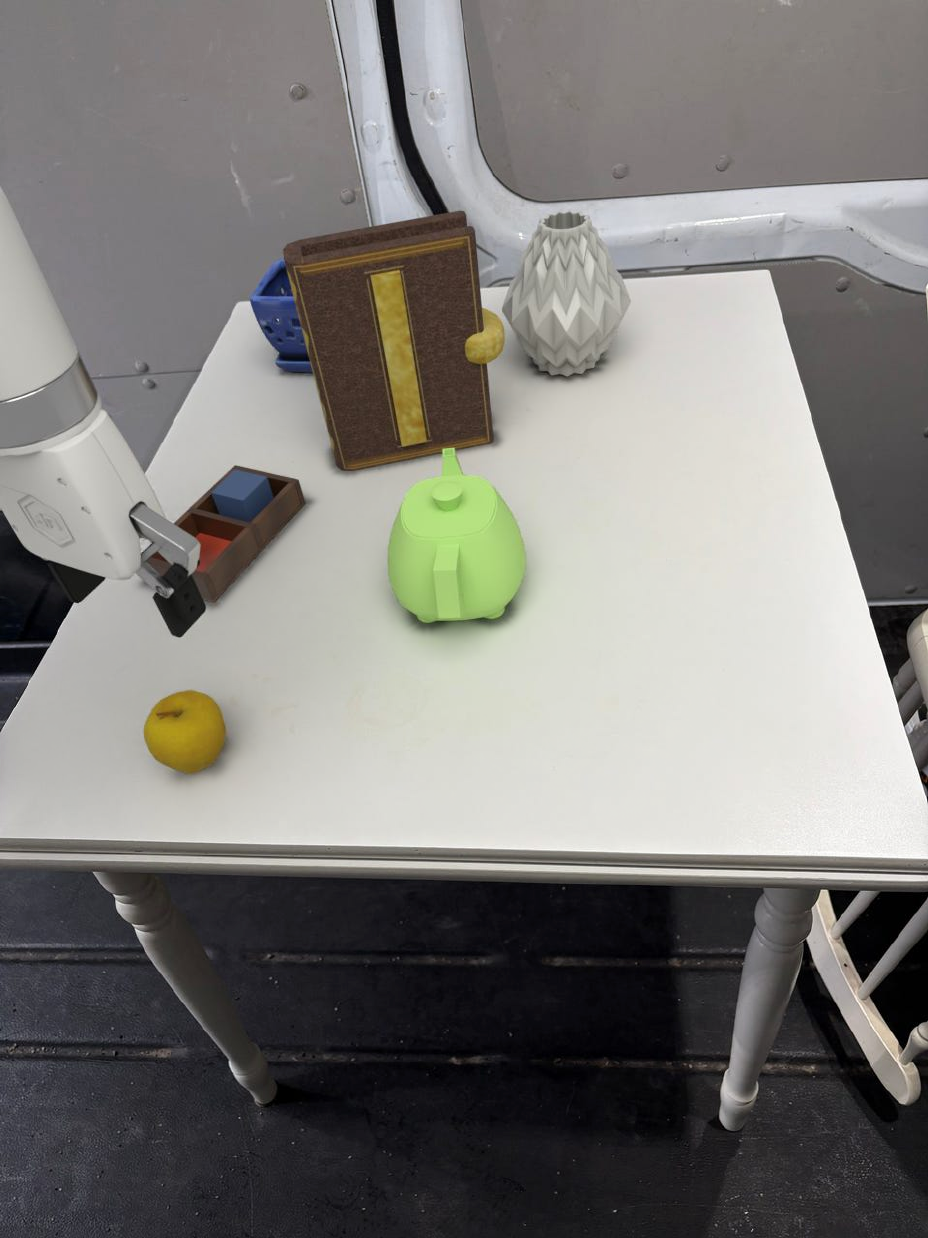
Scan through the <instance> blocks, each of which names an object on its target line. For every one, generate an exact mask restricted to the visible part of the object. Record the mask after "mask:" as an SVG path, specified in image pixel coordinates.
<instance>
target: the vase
mask: <svg viewBox="0 0 928 1238" xmlns="http://www.w3.org/2000/svg"><path fill="white" fill-rule="evenodd" d="M530 238H531V239H530V242H529V243H528V245H527V246H526V247H525V249H523V251H522V253H521V258H520V261H519V266H518V268H517V272H516V275H515V276H514V277H513V279H512V280H511V281H510V283H509V285H508V289H507V291H506V295H505V298H504V300H503V304H502V307H501V312H502V313H503V315H504V317H505V319H506V321H507V322H508V325H509V326H510V328H511V330H512V331H513V333H514V335H515V338H516V340H517V341H518V343H519V345H520V346H521V348H522V350H523V351H524V353H525V355H526V356H528V357H530V358H532V360H533V364H534V365H537V366H538V370H539V372H548V374H549V375H550V376H555V375H557V376H558V375H562V376H565V377H567V378H568V377H570V376H571V375H573V374H580V375H583V374H584V373H585V371H587V370H588V369H594V368H595V365H596V363H597V362H598V361H600V358H601V354H603V353H605V352H607V351H608V348H609V347H610V345H611V343H612V341H613V340H614V338H615V336H616V334H617V332H618V330H619V326H620V325H621V323H622V321H623V319H624V317H625V315H626V314H627V311H628V308H629V307H630V305H631V303H632V299H631V297H630V294H629V292H628V289H627V287H626V284H625V282H624V279H623V276H622V274H621V273H620V272H619V271H618V270H617V268H615V267H614V263H613V261H612V257H611V253H610V250H609V247H608V244H606V243H605V242H604V240H602V238H601V237H600V235H599V232H598V229H597V228H596V227H595V226H594V225H593V222H592V220H591V218H590V215H589V214H583V212H582V211H576V212H574V211H572V210H571V209H570V210H567V211H565V212H563V211H559V210H557V211H556V212H555V213H553V214H551V213H547V214H546V216H545V217H541V218H539V219H538V224H537V227H536V230H535V231H533V233H532V235H531V237H530Z"/></svg>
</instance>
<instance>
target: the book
mask: <svg viewBox="0 0 928 1238" xmlns="http://www.w3.org/2000/svg"><path fill="white" fill-rule="evenodd" d="M476 236H477V235H476V230H475V228H474V226H472V225H468V219H467V214H466V211H465V210H456V211H451V212H450V211H449V212H445V213H440V214H433V215H428V216H423V217H416V218H412V219H406V220H399V221H395V222H390V223H389V222H388V223H384V224H377V225H374V226H367V227H361V228H355V229H351V230H344V231H340V232H335V233H328V234H323V235H322V234H321V235H317V236H312V237H306V238H300V239H298V240H295V241H292V242H289V243H287V244H286V245H285V246H284V248H283V249H282V254H283V259H284V261H285V265H286V269H287V273H288V277H289V281H290V285H291V290H292V293H293V297H294V300H295V304H296V308H297V312H298V316H299V320H300V324H301V328H302V332H303V336H304V340H305V344H306V348H307V352H308V355H309V359H310V363H311V367H312V371H313V372H312V375H313V378H314V382H315V385H316V386H315V387H316V390H317V394H318V399H319V402H320V406H321V410H322V415H323V418H324V421H325V426H326V429H327V434H328V437H329V441H330V446H331V449H332V453H333V457H334V461H335V465H336V467H338V468H339V469H340V470H341V471H349V472H352V471H353V472H354V471H359V470H364V469H369V468H373V467H378V466H384V465H388V464H395V463H398V462H403V461H408V460H414V459H418V458H424V457H428V456H434V455H438V454H443V449H446V448H455V451H459V450H463V449H467V448H472V447H473V448H474V447H479V446H483V445H484V446H485V445H489V444H493V443H494V441H495V439H494V430H493V429H494V427H493V417H492V416H493V415H492V405H491V395H490V394H491V393H490V384H489V383H490V382H489V372H488V371H489V370H488V364H489V363H491V362H493V361H494V360H495V359H497V358H498V357H500V355H501V354H502V353H503V350H504V347H505V342H506V334H505V327H504V324H503V322H502V320H501V318H500V317H499V316H498V314H496V313H495V312H494V311H491V310H490V309H487V308H485V307H483V304H482V294H481V282H480V271H479V270H480V269H479V259H478V248H477V238H476Z"/></svg>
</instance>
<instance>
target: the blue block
mask: <svg viewBox="0 0 928 1238" xmlns="http://www.w3.org/2000/svg"><path fill="white" fill-rule="evenodd" d="M211 494H212V496H213V499H214V501H215V504H216V506H217V509H218V511H219V514H220V515H222V516H226V517H230V518H234V519H238V520H242V521H245V522H249V523H251V521H252V520H253V519H254V518H255V517H256V516H257V515H258V514H259V513H260V512H261V511H262V510H263V509H264V508H265V507H266V506H267V505H268V504H269V503H270V502H271V501H272V500H273V499H274V497H273V494H272V491H271V488H270V485H269V482H268V479H267V477H266V476H261V475H257V474H253V473H248V472H244V471H240V470H234V471H233V472H232V473H231V474H230V475H229V476H228V477H227V478H226V479H225V480H224V481H222V482H221V483H220V484H219V485H218V486H217V487H216V488H215V489H214V490H213V491H212V492H211Z"/></svg>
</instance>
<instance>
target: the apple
mask: <svg viewBox="0 0 928 1238" xmlns="http://www.w3.org/2000/svg"><path fill="white" fill-rule="evenodd" d="M226 737H227V727H226V722H225V719H224V715H223V711H222V709H221V707H220V706H219V704H218V703H217V701H216V700H214V698H213V697H211V696H210V695H208V694H206V693H204V692H201V691H199V690H193V689H186V690H182V691H177V692H175V693H172V694H169V695H167V696H165V697H163V698H161V699H160V700H159V701H157V703H155V705H154V706H153V707H152V708H151V710H150V712H149V714H148V715H147V717H146V719H145V723H144V726H143V740H144V741H145V744H146V747H147V749H148V751H149V753H150V754H151V756H152V757H153V758H154V759H155V760H156V761H157V762H158V763H159V764H162V765H163V766H165V767H168V768H170V769H173V770H175V771H178V772H181V773H184V774H188V775H192V774H196V773H198V772H200V771H202V770H205V769H206V768H209V767H211V766H212V765H213V764H214V763H215V762H216V761H217V760H218V758H219V755H220V754H221V752H222V751H223V748H224V745H225V742H226Z"/></svg>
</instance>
